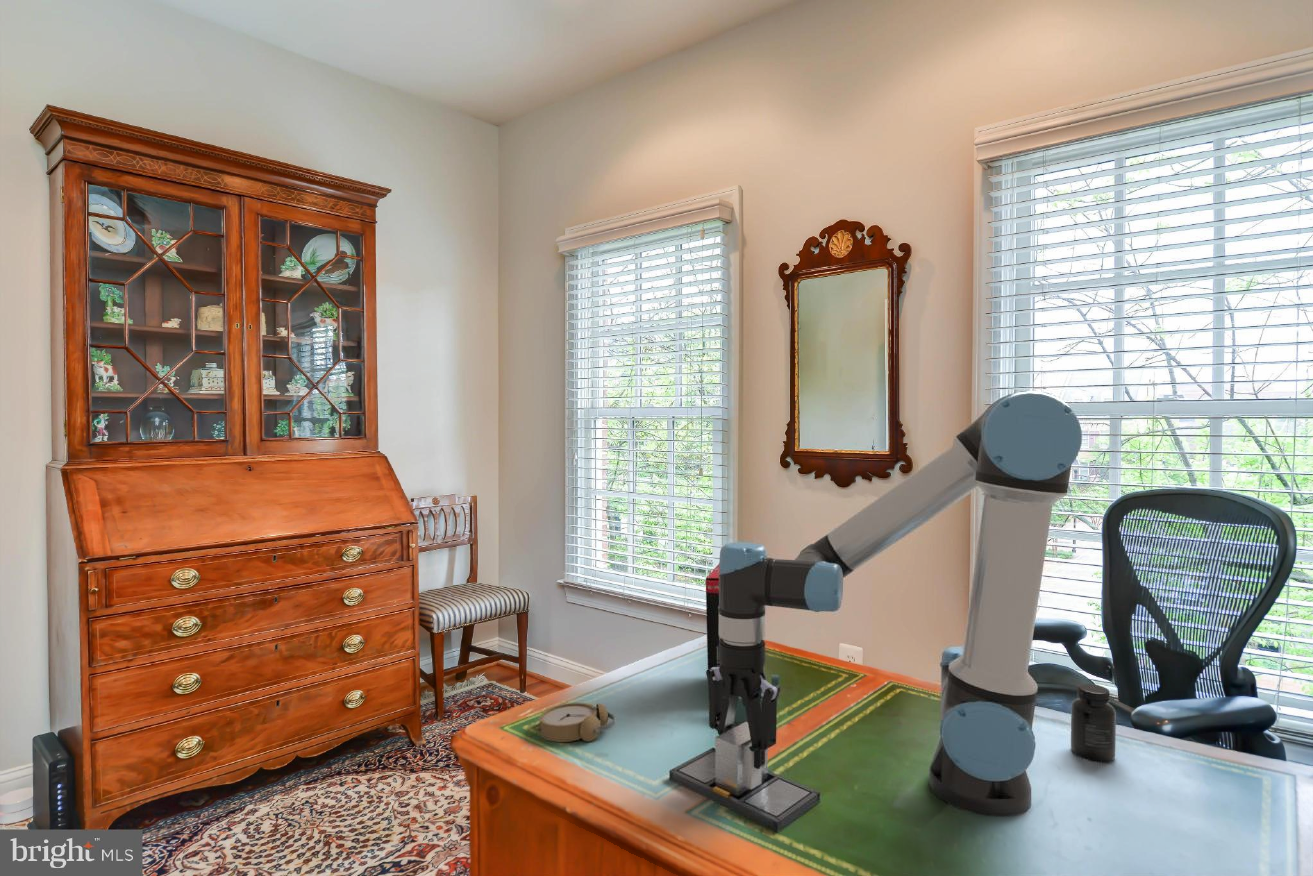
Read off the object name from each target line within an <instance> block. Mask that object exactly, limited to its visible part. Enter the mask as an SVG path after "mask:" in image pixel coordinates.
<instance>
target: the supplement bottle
mask: <svg viewBox="0 0 1313 876" xmlns="http://www.w3.org/2000/svg"><path fill="white" fill-rule="evenodd" d="M1076 694H1077V695H1076V696H1077V697H1078V698H1076V699H1074V700H1073V701H1072V702H1071V706H1070V708H1071V710H1070V711H1071V712H1070V749H1071V752H1073V754H1074V755H1076V756H1077V757H1079V758H1081V759H1083V760H1085V761H1086V760H1087V761H1090V762H1094V763H1101V764H1102V763H1109V762H1113V760H1115V757H1116V743H1117V742H1116V738H1117V737H1116V735H1117V733H1116V732H1117V731H1116V729H1117V728H1116V727H1117V719H1116V718H1117V714H1116V713H1117V712H1116V710H1115V708H1114V707H1113V705H1111V704H1110V702H1111V697H1110V690H1109V689H1108V688H1107V687H1104V686H1101V685H1099V684H1094V683H1081V684H1078V685H1077V693H1076Z"/></svg>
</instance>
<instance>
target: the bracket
mask: <svg viewBox="0 0 1313 876" xmlns="http://www.w3.org/2000/svg"><path fill="white" fill-rule="evenodd" d="M771 685H773V686H774V685H778V686H779V687H780V674H771ZM761 693H762V688H761V689H760V694H761ZM779 697H780V694H779V695H778V698H779ZM762 698H763V697H762V696H761V701H760V706H761V711H762ZM734 722H736V723H738V724H739V725H740V724H742V723H744V722H748V720H747V715H746V709H745V706H744V705H743V704H742V698H741V697H739V698H738V703H737V708H736V713H735V718H734Z"/></svg>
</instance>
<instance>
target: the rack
mask: <svg viewBox="0 0 1313 876" xmlns="http://www.w3.org/2000/svg"><path fill="white" fill-rule="evenodd" d="M668 778H669V780H670V781H672V782H674V783H676V784H678V785H680V786H682V787H684V788H686V789H688V790H690V791H693V792H695V793H696V794H698V795H701V796H703V797H705V798H706V799H709V800H711V801H712V802H715V803H717V804H719V805H721V806H723V807H725V808H727V809H728V810H729V809H730V810H731V811H733V812H735V813H738V814H739V815H741V816H744V817H746V818H747V819H750V820H753V821H754V822H756V823H758V824H760V825H762V826H764V827H766V828H768V829H771V830H773V831H774V832H777V833H779V832H780V831H782V830H783V829H784V828H786V827H787V826H788V825H790V824H791V823H793V822H794V821H795V820H797V819H799V818H800V817H801V816H802V815H804V814H805V813H807V812H808V811H809V810H811V809H812V808H813V807H814V806H817V804H819V803H820V802H821V792H820V791H818V790H816V789H813V788H811V787H808V786H806V785H803V784H801V783H799V782H797V781H794V780H792V779H790V778H787V777H784V776H782V775H780V774H777V773H775V772H773V771H770V770H768V778H766V779H764V780H763V781H761V784H760V785H758V786H756V787H755V788H753V789H752V790H751V789H748V790H747V791H745V792H744V793H742V794H740V795H739V796H736V795H734V794H732V793H730V792H728V791H725V790H723V789H721V788H719V787H717V786H716V747H711V748H710V749H708V750H706V751H704V752H702V753H700V754H698V755H696V756H694V757H693V758H690V759H689V760H687V761H685V762H683V763H681V764H678V766H676V767H674V768H671V769H670V770H669V777H668Z"/></svg>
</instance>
